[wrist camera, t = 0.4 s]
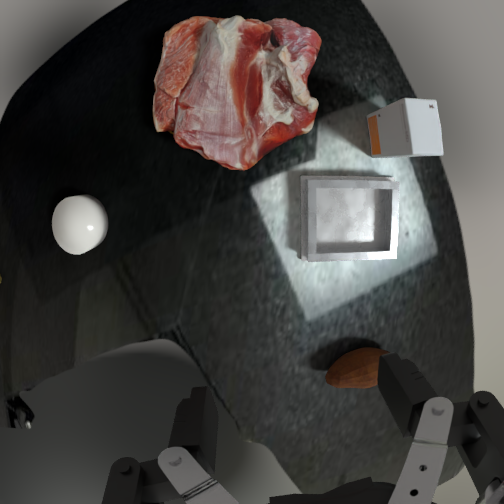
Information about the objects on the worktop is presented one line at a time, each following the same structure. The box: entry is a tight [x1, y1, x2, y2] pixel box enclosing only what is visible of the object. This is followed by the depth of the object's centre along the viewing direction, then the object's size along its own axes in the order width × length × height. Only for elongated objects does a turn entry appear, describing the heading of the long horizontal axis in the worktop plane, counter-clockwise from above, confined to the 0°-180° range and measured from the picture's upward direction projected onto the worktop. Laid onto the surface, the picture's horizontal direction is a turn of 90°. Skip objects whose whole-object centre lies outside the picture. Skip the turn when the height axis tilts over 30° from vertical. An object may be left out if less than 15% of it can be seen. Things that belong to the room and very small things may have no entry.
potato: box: [325, 347, 390, 388], centre depth 41 cm, size 6×12×6 cm, turn 105°
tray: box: [300, 175, 399, 262], centre depth 38 cm, size 11×13×3 cm
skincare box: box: [366, 98, 443, 158], centre depth 31 cm, size 6×4×12 cm
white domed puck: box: [52, 195, 108, 254], centre depth 38 cm, size 8×8×4 cm
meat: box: [153, 16, 321, 170], centre depth 31 cm, size 21×21×10 cm
